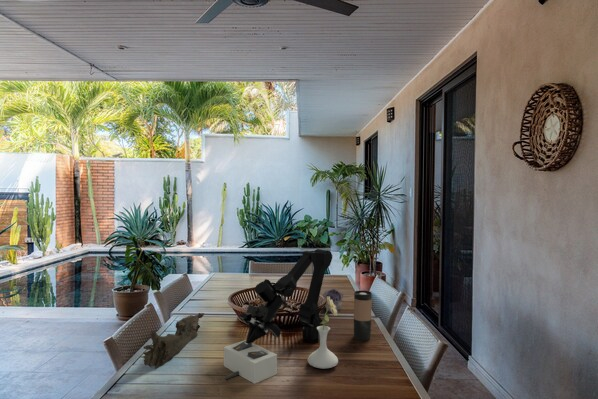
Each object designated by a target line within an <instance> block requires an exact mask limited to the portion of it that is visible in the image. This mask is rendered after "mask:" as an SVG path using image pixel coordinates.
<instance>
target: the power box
mask: <svg viewBox="0 0 598 399" xmlns="http://www.w3.org/2000/svg"><path fill="white" fill-rule="evenodd" d="M246 340H247V339H245V340H242V341H238V342H234V343H232V344H229V345H226V346H224V347H223V367H225V368H227V369H228V370H230V371H232V373H229V374H226V375H225V379H226V380H228V379H229V380H230V379H231V378H233V377H236V376H238V375H239V376H240V377H242V378H244V379H245V380H246V381H248V382H250V383H252V384H257V383H259V382H262V381H264V380H266V379H269V378H271V377H274V376H276V375H277V373H278V371H277V370H278V354H277V353H275V352H273V351H270V350H268V349H266V348H264V347H262V346H259V345H257V344H256V343H254V342H252V346H251V347H249V348H247V349H244V350H241V351H236V350H234V349H233V348H234V347H235V346H237V345H239V344H241V343H242V342H244V341H246ZM256 351H262V352H264V353H266V354H268V355H265V356H262V357H260V358H252V357H250V356H248V352H256Z"/></svg>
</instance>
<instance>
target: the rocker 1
mask: <svg viewBox="0 0 598 399" xmlns="http://www.w3.org/2000/svg"><path fill="white" fill-rule="evenodd" d="M243 341H244V340H243ZM252 343H253V342H252ZM252 343H246V341H244V342H242V343H241V344H239V345H237V346H235V347H234V348H233V349H234V350H236V351H241V350H244V349H247V348H249V347H251V346H252Z"/></svg>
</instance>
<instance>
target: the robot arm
mask: <svg viewBox="0 0 598 399" xmlns="http://www.w3.org/2000/svg"><path fill="white" fill-rule="evenodd" d="M332 260H333V253H332V252H331V250H328V249H321V248H316V249H315V250H305V251H303V253H302V256H300V258H299V260H297V261H296V263H295V264H294V265H293V266H292V268H291V269H290V271H289V272H287V274H286V275H284V276H282V277H280V278H279V279H278V280H277V281H276V282H275V283H271V282H272V281H270V280H269V279H266V278H265V279H264V280H263V281H260V282H258V283H257V284H256V286H255V287H254V293H255V294H256V295H257V296H258V297H259V298H260V299H261V300H262V302H265V304H264V305H262V304H261V305H259V306H258V307H257V306H256V305H255V306H254V305H252V304H248V307H247V309H246V311H244V312H242V313H241V315H240V316H239V318H241V319H242V321H243V322H244V323H245V324H246V325H247V326H248V327H249V328H248V329H249V330H248V334H247V336H246V339H245V340H246V343H254V342H255V341H257V340H259V339H261V338H262V337H265V336H268V332H272V333H271V334H272V336H273V337H275V338H277V339H278V338H279V337H280V335H281V333H282V332H281V331H282V329H281V328H280V327H279V326H278V325H277V324H276V323H274V322H272V321H273V319H275V320H276V319H277V317H278V316H277V313H278V311H279V310H280V309H281V307H282V306H283V307H287V300H286V298H291V297H292V296H293V294H294V292H295V291H296V289H297V284H298V282H299V280H300V279H301V277H302V276H303V275H304V273H305V272H306V271H307V269H308V268H309V267H310V266H311V265H312V266H313V270H312V275H311V280H310V284H309V288H308V292H307V295H306V296H307V297H306V300H305V302H304V303H301V304H300V306H299V309H298V312H297V313H298V318H299V321H300V324H301V325H303V328H302V339H303V343H320V334H319V331H318V330H317V327H318V326H323V324H320V323H321V322H322V321H323V319H322V318H321V317H320V316H319V315H320V308H319V304H318V303H319V300H320V294H321V290H322V287H323V282H324V278H325V273H326V270H328V268H329V267H330V266H331V263H332ZM282 297H284V298H282Z"/></svg>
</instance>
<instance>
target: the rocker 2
mask: <svg viewBox="0 0 598 399" xmlns="http://www.w3.org/2000/svg"><path fill="white" fill-rule="evenodd" d="M265 355H268V354H266V353H264V352H262V351H256V352H248V356H250V357H252V358H260V357H262V356H265Z"/></svg>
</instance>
